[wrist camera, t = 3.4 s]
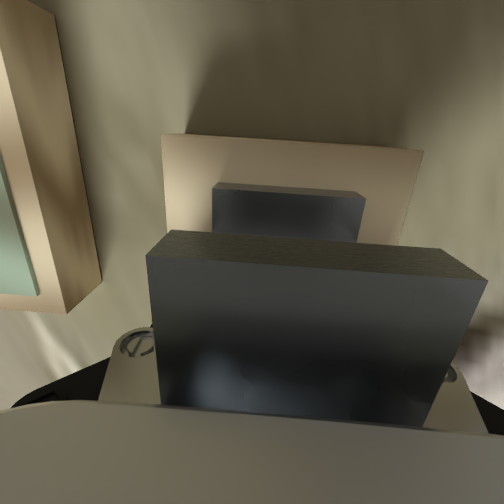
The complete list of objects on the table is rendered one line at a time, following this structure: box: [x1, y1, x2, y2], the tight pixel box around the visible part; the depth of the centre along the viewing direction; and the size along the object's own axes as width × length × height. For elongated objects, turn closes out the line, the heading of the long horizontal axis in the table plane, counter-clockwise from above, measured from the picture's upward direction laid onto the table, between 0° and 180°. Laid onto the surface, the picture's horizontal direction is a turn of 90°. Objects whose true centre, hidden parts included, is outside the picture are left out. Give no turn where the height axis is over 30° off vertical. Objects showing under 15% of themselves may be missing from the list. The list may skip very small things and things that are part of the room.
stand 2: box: [161, 134, 424, 246], centre depth 13 cm, size 12×9×3 cm
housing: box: [146, 182, 488, 427], centre depth 9 cm, size 9×5×7 cm, turn 177°
